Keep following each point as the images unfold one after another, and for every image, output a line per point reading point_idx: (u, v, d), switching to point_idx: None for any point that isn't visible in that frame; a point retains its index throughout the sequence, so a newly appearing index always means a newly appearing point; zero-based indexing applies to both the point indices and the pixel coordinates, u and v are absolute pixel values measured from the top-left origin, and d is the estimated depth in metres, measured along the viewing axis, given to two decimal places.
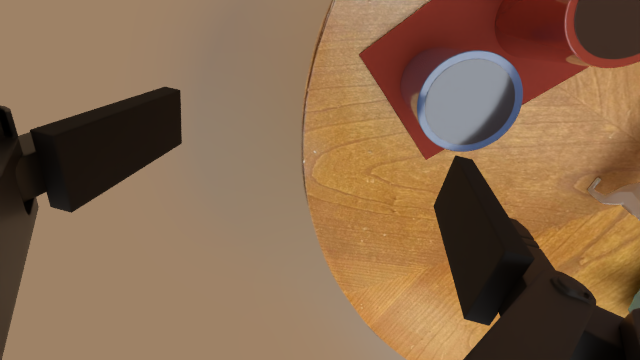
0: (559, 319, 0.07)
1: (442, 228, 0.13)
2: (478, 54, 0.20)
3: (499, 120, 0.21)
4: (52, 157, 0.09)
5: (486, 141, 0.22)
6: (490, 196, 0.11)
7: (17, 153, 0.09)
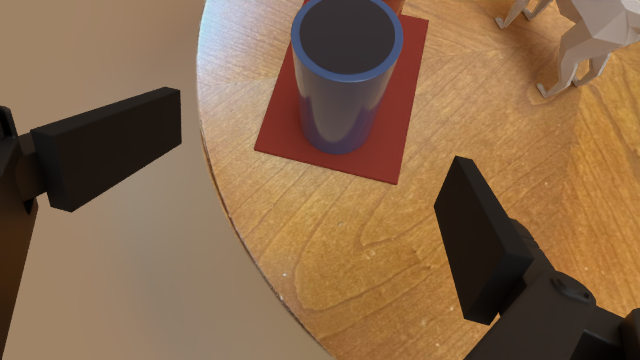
0: (559, 320, 0.07)
1: (442, 228, 0.13)
2: (314, 0, 0.19)
3: (385, 26, 0.19)
4: (52, 157, 0.09)
5: (396, 46, 0.18)
6: (490, 197, 0.11)
7: (17, 153, 0.09)
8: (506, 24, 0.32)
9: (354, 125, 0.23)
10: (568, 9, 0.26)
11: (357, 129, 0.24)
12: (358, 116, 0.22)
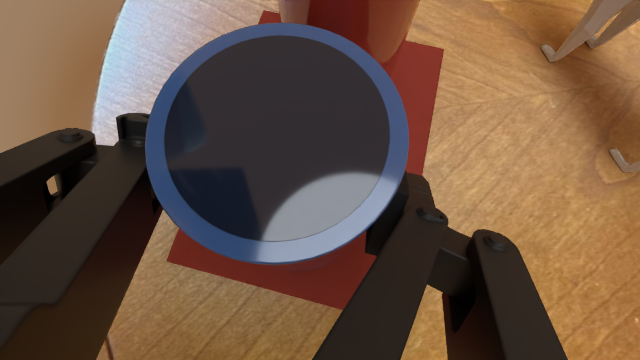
0: (424, 240, 0.08)
1: None
2: (210, 48, 0.09)
3: (367, 109, 0.08)
4: None
5: (393, 163, 0.08)
6: None
7: None
8: (561, 56, 0.21)
9: (316, 265, 0.12)
10: None
11: (324, 263, 0.13)
12: (320, 263, 0.11)
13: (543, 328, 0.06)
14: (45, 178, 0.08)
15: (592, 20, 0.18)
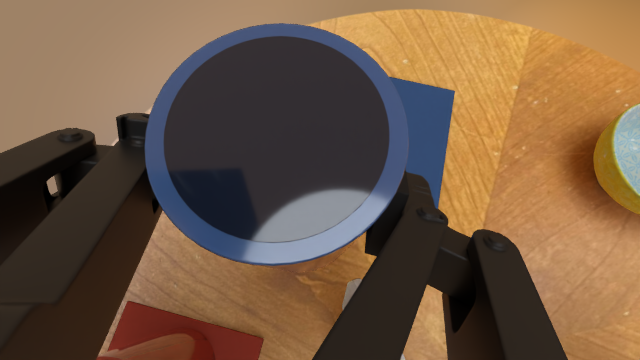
0: (424, 240, 0.08)
1: None
2: (209, 48, 0.09)
3: (367, 110, 0.08)
4: None
5: (392, 163, 0.08)
6: None
7: None
8: None
9: (316, 266, 0.12)
10: None
11: (323, 264, 0.13)
12: (319, 264, 0.11)
13: (542, 328, 0.06)
14: (45, 178, 0.08)
15: None
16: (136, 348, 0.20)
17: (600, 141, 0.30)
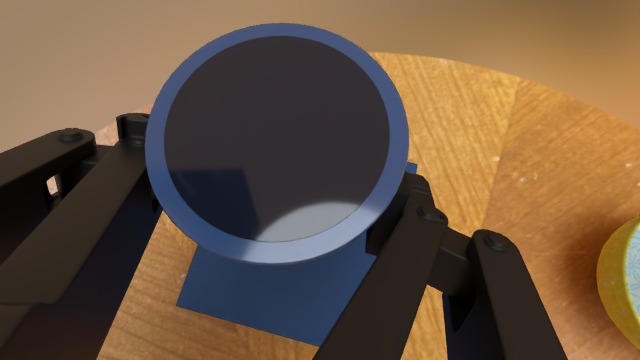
0: (424, 240, 0.08)
1: None
2: (210, 48, 0.09)
3: (367, 110, 0.08)
4: None
5: (393, 163, 0.08)
6: None
7: None
8: None
9: (316, 266, 0.12)
10: None
11: (323, 264, 0.13)
12: (320, 263, 0.11)
13: (543, 328, 0.06)
14: (45, 178, 0.08)
15: None
16: None
17: (606, 256, 0.22)
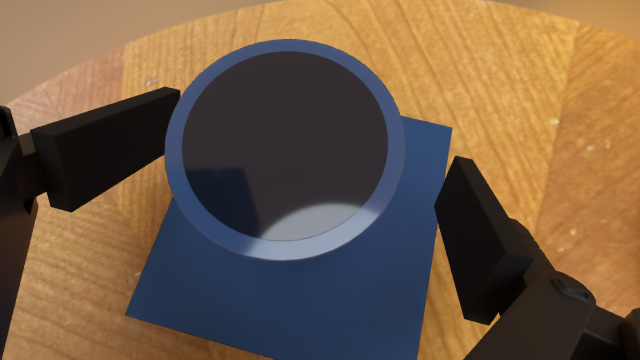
0: (560, 320, 0.07)
1: (442, 228, 0.13)
2: (223, 63, 0.09)
3: (367, 120, 0.09)
4: (52, 157, 0.09)
5: (391, 169, 0.08)
6: (490, 197, 0.11)
7: (17, 153, 0.09)
8: None
9: (319, 264, 0.13)
10: None
11: (326, 262, 0.14)
12: (322, 262, 0.12)
13: None
14: None
15: None
16: None
17: None
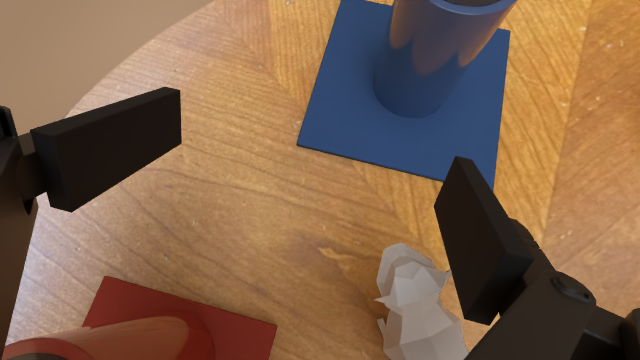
0: (559, 320, 0.07)
1: (442, 228, 0.13)
2: None
3: None
4: (52, 157, 0.09)
5: None
6: (490, 197, 0.11)
7: (17, 153, 0.09)
8: None
9: (450, 78, 0.22)
10: None
11: (449, 84, 0.22)
12: (460, 64, 0.20)
13: None
14: None
15: None
16: (101, 329, 0.14)
17: None
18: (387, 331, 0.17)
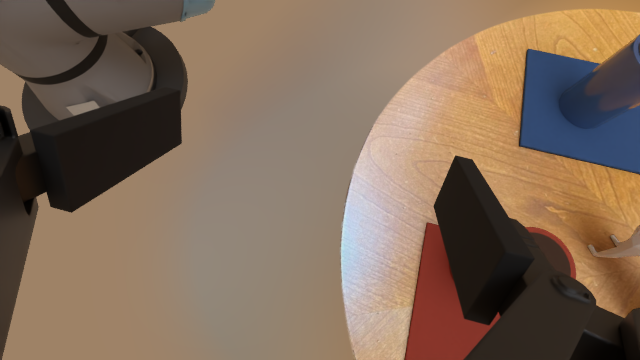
0: (559, 320, 0.07)
1: (442, 228, 0.13)
2: None
3: None
4: (52, 157, 0.09)
5: None
6: (490, 197, 0.11)
7: (17, 153, 0.09)
8: (600, 256, 0.38)
9: (632, 108, 0.38)
10: None
11: (628, 110, 0.39)
12: None
13: None
14: None
15: (619, 253, 0.35)
16: None
17: None
18: (635, 236, 0.33)
